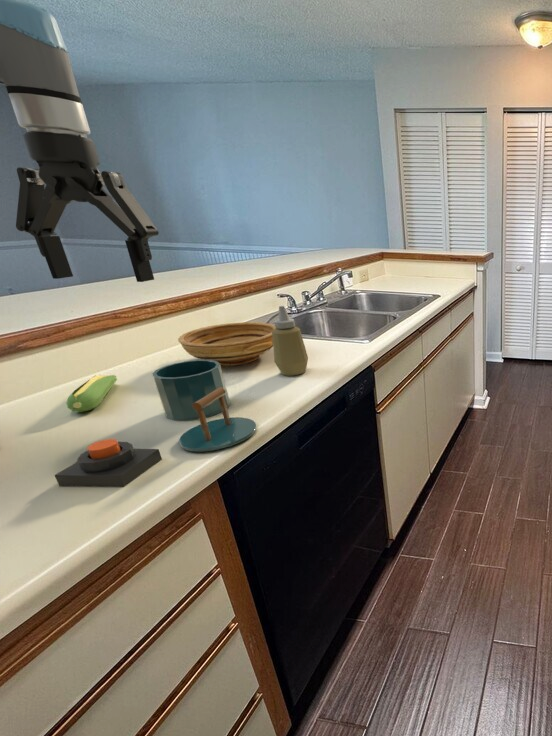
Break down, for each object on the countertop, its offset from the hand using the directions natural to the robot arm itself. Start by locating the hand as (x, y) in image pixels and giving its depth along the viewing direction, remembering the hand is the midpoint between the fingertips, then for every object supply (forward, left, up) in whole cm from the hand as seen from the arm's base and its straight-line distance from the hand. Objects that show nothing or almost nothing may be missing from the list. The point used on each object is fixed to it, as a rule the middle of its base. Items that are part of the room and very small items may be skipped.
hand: (104, 279), depth 71 cm
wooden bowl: (-10, +44, -30) cm, 54 cm away
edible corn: (-25, +16, -30) cm, 42 cm away
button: (+3, -13, -26) cm, 29 cm away
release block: (+3, -13, -30) cm, 32 cm away
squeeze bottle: (+11, +34, -30) cm, 46 cm away
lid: (+13, -1, -29) cm, 32 cm away
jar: (+1, +11, -30) cm, 32 cm away
